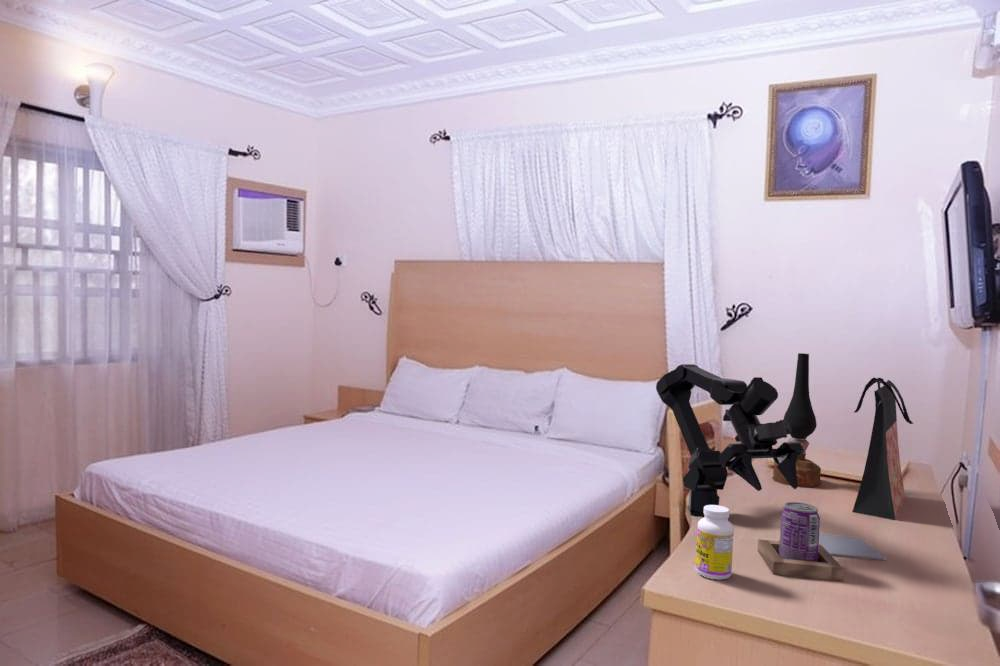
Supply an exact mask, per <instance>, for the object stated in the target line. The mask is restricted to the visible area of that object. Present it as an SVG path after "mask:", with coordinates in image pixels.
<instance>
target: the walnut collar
mask: <svg viewBox="0 0 1000 666" xmlns="http://www.w3.org/2000/svg"><path fill="white" fill-rule="evenodd" d="M779 546H780V540H769V539H760V538H759V539H757V552H758V554H759V555H760V557H761V558H762V560H763V561H764V563H765V564H766V566H767V567H768V569H769V571H770V572H771V574H772V575H776V576H786V577H787V576H788V577H795V578H796V577H797V578H798V577H799V578H806V579H807V578H808V579H809V578H810V579H817V580H818V579H819V580H820V579H821V580H827V581H828V580H830V581H831V580H832V581H841V582H843V573H844V567H843V566H842V565H841V564H840V563H839V562H838V561H837V560H836V559H835V558H834V556H831V555H830V554H829V553H828V552H827V551H826V550H825V548H824V547H823V546H822V545H818V561H817V562H812V561H801V560H790V559H782V558H781V557H780V556H779Z"/></svg>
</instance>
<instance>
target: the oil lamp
mask: <svg viewBox="0 0 1000 666" xmlns="http://www.w3.org/2000/svg"><path fill="white" fill-rule="evenodd" d="M797 353H798V354H797V361H796V363H797V364H796V368H795V369H796V370H795V379H794V380H795V381H794V387H793V393H792V397H791V399H790V402H789V403H788V404H789V405H788V407H787V409H786V411H785V413H784V416H783V418H782V420H787V422H788V423H789V425H790V427H791V434H789V435H790V439H788V440H787V442H798V443H800V444H801V445H802V447H803V449H804V451H805V452H804V453H803V454H802V455H801V456H800V457H799V458H798V459H797V461H796V473H797V482H798V487H797V488H809V489H810V488H819V487H821V485H822V483H821V476H822V475H821V473H822V470H821V466H819V465H818V464H816V463H815V462H814V461H812V460H811V459H808V458H806V455H807V453H806V450H807V449H808V447H809V445H810V442H809V441H808V440H807V439H808V437H809V436H810V435H812V434H813V433H814V432H815V430H816V428H817V426H818V425H817V419H816V418H817V417H816V416H815V413H814V409H813V406H812V401H811V397H810V388H809V387H810V384H809V383H810V382H809V381H810V374H809V373H810V372H809V371H810V354H809V353H801V352H797ZM777 466H778V464H777V463H775V461H774V462H773V472H772V474H773V476H772V478H771V479H772V480H773V481H774V482H777V483H778V482H779V484H781V483H782V485H786V486H789V485H790V484H789V483H788V481H787V480H786V479H785V477H784V476H783V475H782V473H781V472H780V471H779V470H778V468H777ZM790 486H791V485H790ZM791 487H792V486H791Z"/></svg>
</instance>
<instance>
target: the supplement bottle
mask: <svg viewBox="0 0 1000 666" xmlns="http://www.w3.org/2000/svg"><path fill="white" fill-rule="evenodd" d="M703 513H704V515H705V516H704V517H702V518H700V520H698V522H697V531H696V532H697V533H696V547H695V548H696V549H695V565H694V566H695V572H697V574H698V575H699V576H701V575H702V576H701V577H703V576H704V577H703V578H705V577H707V578H706V579H709V578H710V580H714V579H717V580H716V581H720V580H722V581H723V579H724V580H727V579H729V578H730V577H731V576H732V570H733V568H732V566H733V551H734V550H733V549H734V534H735V527H734V526H733V525H734V524H732V522H730V521H729V520H728V519H729V517H730V509H729V508H728V507H727V506H724V505H720V504H719V505H706V506H704V512H703Z"/></svg>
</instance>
